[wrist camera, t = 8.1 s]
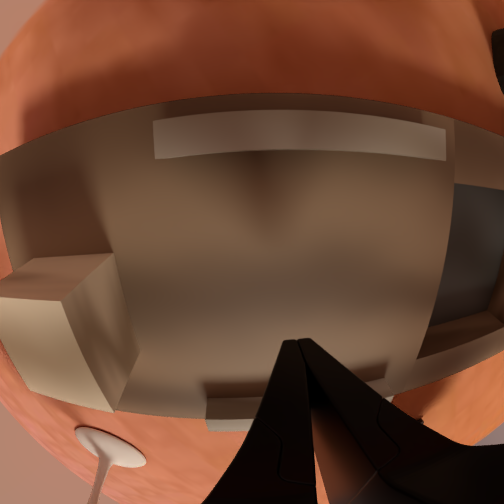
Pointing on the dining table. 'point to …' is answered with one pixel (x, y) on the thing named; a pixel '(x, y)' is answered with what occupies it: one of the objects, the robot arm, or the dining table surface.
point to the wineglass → (107, 455)
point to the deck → (274, 239)
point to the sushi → (498, 55)
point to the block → (69, 329)
